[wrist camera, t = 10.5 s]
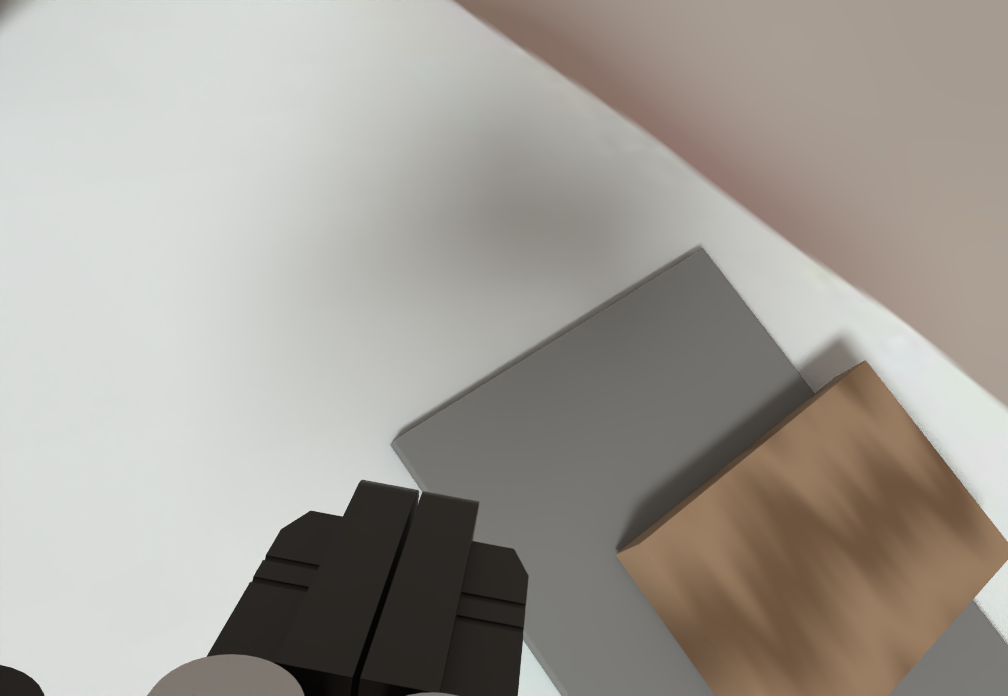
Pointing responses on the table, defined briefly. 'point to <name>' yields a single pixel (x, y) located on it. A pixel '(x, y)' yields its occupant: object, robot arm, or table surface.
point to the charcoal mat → (633, 478)
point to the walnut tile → (819, 552)
